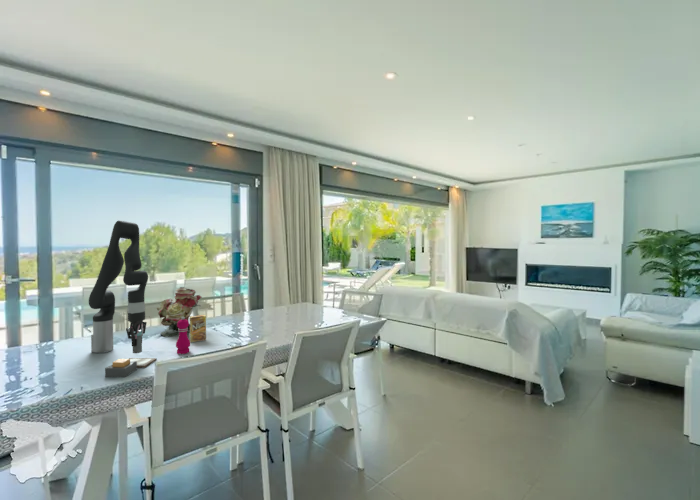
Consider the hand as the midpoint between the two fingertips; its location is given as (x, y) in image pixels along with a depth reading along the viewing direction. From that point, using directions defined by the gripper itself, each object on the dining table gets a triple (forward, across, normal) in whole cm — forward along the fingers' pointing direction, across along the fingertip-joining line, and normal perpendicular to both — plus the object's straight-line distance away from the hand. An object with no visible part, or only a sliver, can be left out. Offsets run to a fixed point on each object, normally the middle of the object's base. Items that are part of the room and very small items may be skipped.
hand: (137, 344), depth 176 cm
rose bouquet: (+10, -60, -6) cm, 61 cm away
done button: (+8, +12, 0) cm, 14 cm away
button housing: (+10, +12, 0) cm, 16 cm away
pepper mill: (+10, -18, +15) cm, 25 cm away
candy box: (+10, -40, +14) cm, 43 cm away
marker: (+4, 0, 0) cm, 4 cm away
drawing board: (+10, 0, 0) cm, 10 cm away
